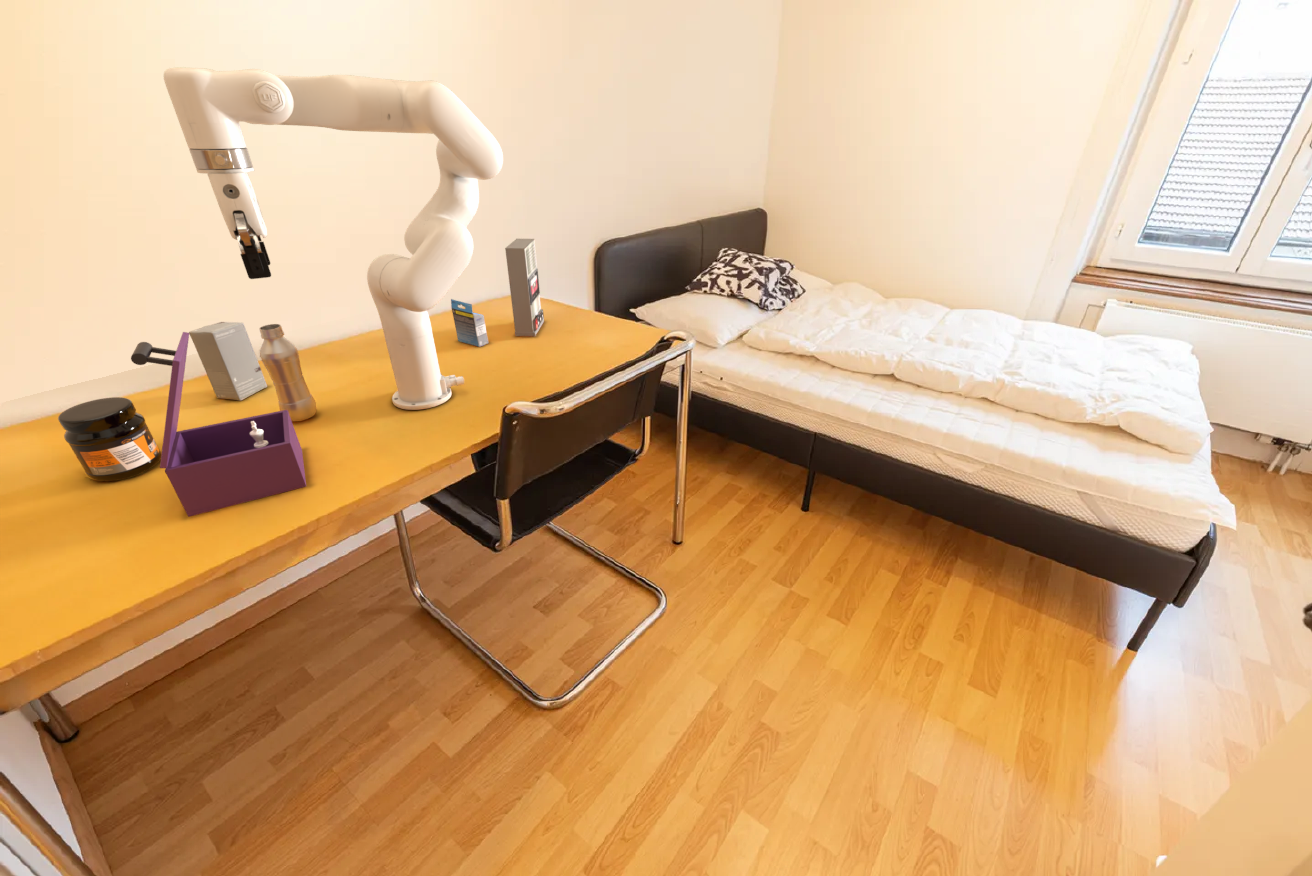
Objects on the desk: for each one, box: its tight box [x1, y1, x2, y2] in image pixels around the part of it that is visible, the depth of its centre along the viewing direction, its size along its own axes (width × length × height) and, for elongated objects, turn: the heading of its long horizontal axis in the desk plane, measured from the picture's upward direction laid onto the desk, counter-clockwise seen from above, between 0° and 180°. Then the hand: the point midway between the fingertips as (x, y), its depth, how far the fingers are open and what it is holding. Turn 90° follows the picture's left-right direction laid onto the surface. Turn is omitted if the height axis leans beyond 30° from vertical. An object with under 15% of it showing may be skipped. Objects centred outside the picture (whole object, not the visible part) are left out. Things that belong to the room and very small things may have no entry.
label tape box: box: [450, 298, 489, 348], centre depth 155 cm, size 9×4×12 cm, turn 58°
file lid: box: [130, 331, 190, 469], centre depth 86 cm, size 18×14×6 cm
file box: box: [164, 410, 307, 517], centre depth 96 cm, size 17×14×9 cm
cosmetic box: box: [188, 321, 268, 401], centre depth 125 cm, size 8×7×16 cm
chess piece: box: [249, 421, 268, 448], centre depth 97 cm, size 5×5×10 cm
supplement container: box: [57, 396, 162, 482], centre depth 98 cm, size 10×10×12 cm
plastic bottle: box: [259, 323, 318, 422], centre depth 114 cm, size 6×7×20 cm
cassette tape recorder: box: [504, 238, 545, 338], centre depth 163 cm, size 14×6×25 cm, turn 179°
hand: (260, 271), depth 97 cm, fingers open, 9 cm apart
